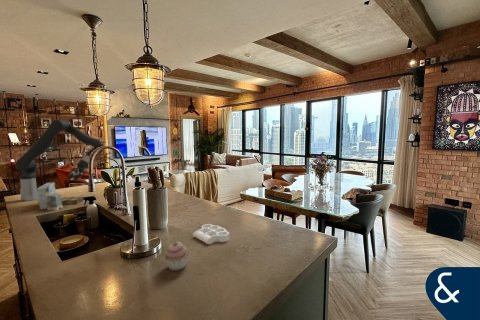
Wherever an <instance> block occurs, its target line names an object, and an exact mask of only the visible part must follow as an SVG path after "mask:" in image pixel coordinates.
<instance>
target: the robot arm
mask: <svg viewBox="0 0 480 320" xmlns="http://www.w3.org/2000/svg"><path fill="white" fill-rule="evenodd" d="M61 132H66V133H68V134H70V135H72V137H74V138H75V139H77V140H78V141H79V142H81V143H82V144H84V145H86V146H92V147H93V148H92V149H90V150H88V151H87V152H86V154H85V155H84V156H83V157H81V159H80V160H79V161H78V162H77V164H76V166H77V167H75V166H74V167H73V168H72V169H71V170H70V171H69V172H68V174H69V175H68V176H67V177H66V180H67V181H70V180H71V179H72V180H73V181H75V182H77V180H79V178H81V177H83V176H84V175H85V174H86V173H87V171H88V169H89V168H88V164H89V157H90V154H91V152H92V151H93V150H94V149H96V148H98V147H101V146H104V147H105V144H104V142H103V141H102V140H101V139H97V138H94V137H92V136H90V135H88V134H86V133H85V132H83V131H81V130H80V129H78V128H77V127H75V126H74V125H73V124H72V123H70V122H69V121H67V120H65V119H54V120H52V121H51V123H50V124H49V125H48V127H47V128H46V130H45V131H44V132H43V133H42V134H41V135H40V137H39V138H37V140H36V141H35V142H34V143H33V145H32V146H31V147H29V149H28V150H27V151H26V152H25V153H24V154H23V155H22V156H21V157H20V158H18V159H17V160H16V161H15V164H14V166H15V167H14V168H15V169H16V170H18V171H21V172H22V171H23V172H22V173H21V174H20V176H19V181H20V189H19V192H20V201H21V202H22V201H23V202H26V201H29V202H30V201H34V200H38V196H37V190H36V189H37V187H38V186H37V180H36V178H37V177H36V175H37V163H36V161H35V159H36V158H39V157H40V156H42V155H43V154H44V153H46V152H47V151H48V150H49V149H50V147H52V145H53V141H54V139H55V138H56V136H58V134H59V133H61ZM103 151H104V150H101V151H100V152H99V153H98V154H97V155H96V157H95V159H96V158H97V157H98V156H100V154H101V153H103ZM73 176H75V177H74V178H73Z"/></svg>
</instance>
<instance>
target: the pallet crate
mask: <svg viewBox="0 0 480 320" xmlns="http://www.w3.org/2000/svg"><path fill="white" fill-rule="evenodd" d="M61 198H62V193H56V194H51V195H48V196H47V204H48V208H47V209H46V210H47V211H58V210H59V209H61V208H62V209H63V206H64V205H62V201H61Z"/></svg>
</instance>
